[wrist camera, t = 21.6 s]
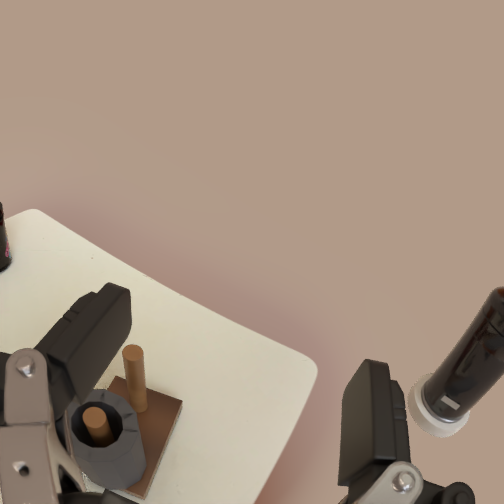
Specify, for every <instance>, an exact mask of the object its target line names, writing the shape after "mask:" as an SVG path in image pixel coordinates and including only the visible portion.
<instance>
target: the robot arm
mask: <svg viewBox="0 0 504 504" xmlns="http://www.w3.org/2000/svg"><path fill="white" fill-rule="evenodd" d="M131 325H132V316H131V296H130V291H129V289H127V288H124V287H121V286H118V285H116V284H113V283H110V282H109V283H107V284H105V285H104V286H103V287H102V289H101V290H100V291H99V292H98V293H94V292H90V293H88V294H86V295H84V296H82V297H80V298H79V299H78V300H77V301H76V302H75V303H74V304H73V305H72V306H71V307H70V310H68V311H67V312H66V313H65V314H64V315H63V317H62V318H60V319H59V321H58V322H57V323H56V324H55V325H54V326H53V327H52V328H51V329H50V331H49V332H48V333H47V334H46V335H45V336H44V337H43V339H42V340H41V341H40V342H39V343H38V344H37V345H36V346H35V347H34V348H33V349H31V348H24V349H20V350H18V351H16V352H14V353H13V354H7V353H3V352H0V486H1V494H2V500H3V504H139V503H136V502H134V501H132V500H129V499H127V498H125V497H122V496H120V495H118V494H116V493H114V492H111V491H109V490H107V489H105V490H104V492H103V494H102V493H96V492H86V488H85V484H84V481H83V477H82V474H81V471H80V469H79V466H78V464H77V461H76V458H75V453H74V448H73V443H72V437H71V431H70V424H69V418H68V411H67V407H68V406H69V404H70V403H71V401H73V402H74V403H76V404H78V405H80V406H82V405H83V404H84V402H85V401H86V399H87V397H88V396H89V394H90V393H91V391H92V390H93V388H94V387H95V385H96V384H97V382H98V380H99V379H100V377H101V376H102V374H103V373H104V371H105V370H106V368H107V367H108V365H109V364H110V362H111V361H112V359H113V358H114V356H115V355H116V353H117V352H118V350H119V349H120V347H121V346H122V345H123V343H124V342H125V340H126V339H127V337H128V335H129V333H130V330H131ZM503 374H504V287H497V288H495V289H494V290H493V291H492V292H491V293H490V294H489V296H488V298H487V299H486V301H485V302H484V304H483V306H482V307H481V309H480V310H479V312H478V314H477V315H476V317H475V318H474V320H473V321H472V323H471V324H470V326H469V327H468V329H467V330H466V332H465V333H464V334H463V336H462V337H461V338H460V340H459V341H458V343H457V344H456V345H455V347H454V348H453V349H452V351H451V352H450V353H449V355H448V356H447V357H446V359H445V360H444V361H443V362H442V364H441V365H440V366H439V367H438V369H437V370H436V371H435V372H434V373H433V375H432V376H431V377H430V378H429V379H428V380H427V381H426V382H425V383H424V385H423V387H422V390H421V397H422V401H423V404H424V406H425V408H426V409H427V411H428V412H429V413H430V414H431V415H432V416H433V417H434V418H435V419H437V420H439V421H441V422H443V423H448V424H451V423H456V422H458V421H459V420H460V419H462V418H463V417H464V415H465V414H466V413H467V412H468V411H469V410H470V409H471V408H472V407H473V406H474V405H475V404H476V403H477V402H478V401H479V400H480V399H481V398H482V397H483V396H484V395H485V394H486V393H487V392H488V391H489V390H490V389H491V387H492V386H493V385H494V384H495V383H496V382H497V381H498V380H499V379H500V378H501V376H502V375H503ZM406 418H407V416H406V410H405V400H404V394H403V391H402V390H401V388H400V386H399V384H398V382H397V381H395V380H391V379H390V372H389V366H388V364H387V363H384V362H379V361H374V360H370V359H365V360H364V361H363V363H362V364H361V365H360V367H359V368H358V370H357V371H356V373H355V374H354V376H353V377H352V379H351V380H350V382H349V383H348V385H347V387H346V389H345V391H344V394H343V399H342V421H341V443H340V460H339V475H338V486H348V487H349V490H348V495H346V496H345V497H344V498H343V499H342V500H341V501H340V502H339V503H338V504H475V496H474V493H473V491H472V489H471V488H470V487H469V486H468V485H467V484H465V483H463V482H455V483H452V484H451V485H449V486H447V487H446V488H445V487H442V486H439V485H436V484H433V483H431V482H428V481H426V480H424V479H423V478H422V475H421V473H420V471H419V470H418V468H417V467H416V466H414V465H413V464H411V459H410V446H409V436H408V425H407V421H406Z"/></svg>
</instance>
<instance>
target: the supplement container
mask: <svg viewBox="0 0 504 504" xmlns="http://www.w3.org/2000/svg"><path fill="white" fill-rule="evenodd" d="M10 262H11V253H10V248H9V243H8V238H7V233H6V227H5V221H4V213H3V207H2V204H1V202H0V272H2V271H3V270H5V269H6V268H7V267H8V266H9V264H10Z"/></svg>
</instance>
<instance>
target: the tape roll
mask: <svg viewBox="0 0 504 504" xmlns="http://www.w3.org/2000/svg"><path fill="white" fill-rule="evenodd" d="M90 407H97V408H100V409H102V410H103V411H104V412H105V414H106V417H107V420H108V423H109V426H110V428H111V431H112V434H113V437H114V439H115V441H116V442H114V443H113V444H111V445H109V446H108V447H106V448H96V445H95V443H94V441H93V439H92V437H91V435H90V433H89V431H88V429H87V427H86V425H85V423H84V421H83V413H84V412H85V410H86V409H88V408H90ZM67 411H68V418H69V424H70V431H71V437H72V443H73V448H74V453H75V458H76V461H77V464H78V465H79V466H80V468H81V469H82V470H83V471H84V473H85V474H86V475H87V476H88V478H89V479H90V480H91V481H92V482H94V483H96V484H98V485H100V486H102V487H104V488H106V489H127V488H129V487H130V486H132V485H133V484H135V483H137V482H138V481H140V480H141V478H142V476H143V473H144V471H145V468H146V466H147V464H146V459H145V454H144V449H143V444H142V440H141V435H140V430H139V424H138V419H137V414H136V412H135V411H134V409H133V408H132V407H131V406H130V405H129V403H128V402H127V401H126V400H125V399H124V397H121V396H119V395H117V394H114V393H112V392H110V391H108V390H105V389H93V390H92V391H91V393H90V394H89V396H88V397H87V399H86V401H85V402H84V404H83V405H82V406H80V405H78V404H76V403H74V402H73V401H71V403H70V404H69V406H68V407H67Z"/></svg>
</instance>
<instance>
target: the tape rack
mask: <svg viewBox="0 0 504 504" xmlns="http://www.w3.org/2000/svg"><path fill="white" fill-rule="evenodd" d="M122 355H123V362H124V369H125V375H126V380H125V379H123V378H121V377H118V376H115V378H114V380H113V381H112V383H111V385H110V386H109V388H108V391H110V392H112V393H114V394H117V395H119V396H121V397H124V399H125V400H126V401H127V402H128V403H129V405H130V406H131V407H132V408H133V409H134V411H135V412H136V414H137V419H138V424H139V430H140V435H141V440H142V444H143V449H144V454H145V459H146V464H147V466H146V468H145V471H144V473H143V476H142V478H141V480H140V481H138V482H137V483H135V484H133V485H132V486H130V487H129V488H127V489H119V490H121V491H124V492H126V493H128V494H131V495H133V496H136V497H138V498H141V499H143V500H145V498H146V496H147V493H148V491H149V488H150V486H151V483H152V481H153V479H154V476H155V474H156V471H157V469H158V466H159V464H160V461H161V459H162V456H163V454H164V451H165V449H166V446H167V444H168V441H169V439H170V436H171V434H172V431H173V429H174V426H175V424H176V421H177V419H178V417H179V414H180V412H181V409H182V402H183V401H182V400H179V399H176V398H173V397H170V396H167V395H164V394H162V393H159V392H156V391H153V390H151V389H148V388H146V382H145V370H144V356H143V350H142V348H141V347H139V346H137V345H128V346H126V347H125V348H124V349H123V351H122ZM83 421H84V423H85V425H86V427H87V429H88V431H89V433H90V435H91V437H92V439H93V441H94V443H95V445H96V448H106V447H108V446H109V445H111V444H113V443H114V442H116V441H115V439H114V437H113V434H112V431H111V428H110V426H109V423H108V420H107V417H106V414H105V412H104V411H103V410H102V409H100V408H97V407H90V408H88V409H86V410H85V412H84V413H83ZM78 466H79V465H78ZM79 469H80V471H82V472H84V471H83V470H82V469H81V468H80V466H79Z"/></svg>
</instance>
